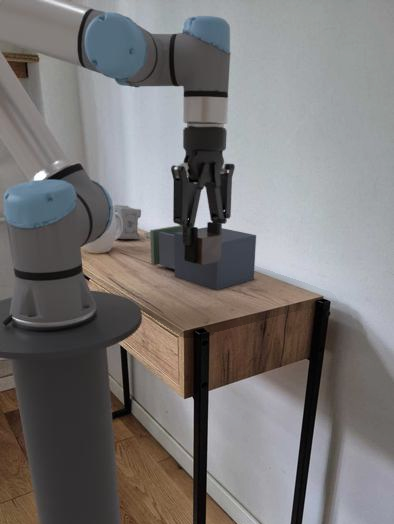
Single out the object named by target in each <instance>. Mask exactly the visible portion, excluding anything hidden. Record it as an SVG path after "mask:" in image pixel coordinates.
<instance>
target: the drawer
mask: <svg viewBox="0 0 394 524" xmlns="http://www.w3.org/2000/svg"><path fill="white" fill-rule="evenodd" d="M182 231H183V228H182V226H181V225H179V224H178V225H173V226H167V227H161V228H155V229H149V231H147V232H143V237H144V238H145V239H150V261H151V262H150V263H151V264H150V265H152V266H157V265H159V266H163V267H165V268H169V269H172V270H175V261H174V233H176V232H182Z"/></svg>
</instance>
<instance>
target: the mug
mask: <svg viewBox="0 0 394 524" xmlns="http://www.w3.org/2000/svg"><path fill="white" fill-rule="evenodd" d="M114 205H115V204H114V203H113V210H114V212H113V219H112V222H111V225H110V227H109V228H108V230H107V231H106V232H105V233H104V234H103V235H102V236H101V237H100V238H98V239H97V240H95V241H94V242H91V243H88V244H86V245H84V246H83V248H84V250H85V251H86V252H87V253H88V254H89V253H90V254H96V255H97V254H105V253H109V252H110V251H111V250H112V248H113V245H114V242H115V241H116V240H118V239H119V237H120V235H121V233H122V230H123V220H122V218H121V216H120V215H119V214H118V213H117V212H115V207H114ZM115 216H116V217H117V218H118V223H119V227H118V231H117V234H116V235H115V231H116V229H115V228H116V220H115Z"/></svg>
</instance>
